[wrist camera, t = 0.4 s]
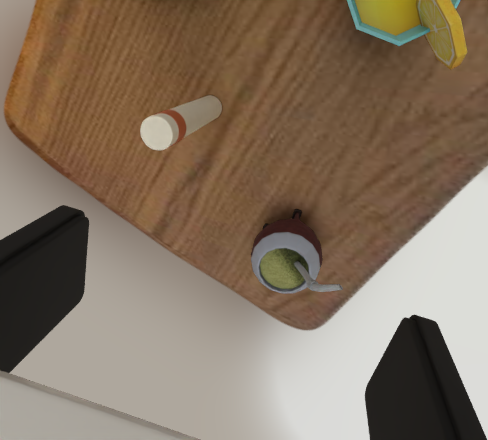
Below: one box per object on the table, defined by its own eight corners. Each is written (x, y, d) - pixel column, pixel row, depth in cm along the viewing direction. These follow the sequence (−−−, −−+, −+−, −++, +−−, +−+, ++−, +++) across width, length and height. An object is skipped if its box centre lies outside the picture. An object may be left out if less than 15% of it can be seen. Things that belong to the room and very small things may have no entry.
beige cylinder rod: (214, 90, 38) (159, 108, 26) (227, 112, 39) (180, 140, 26) (194, 102, 39) (132, 126, 26) (207, 124, 40) (152, 157, 27)
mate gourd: (253, 251, 45) (222, 336, 31) (270, 189, 41) (244, 256, 28) (315, 269, 44) (310, 365, 31) (337, 209, 41) (344, 287, 27)
